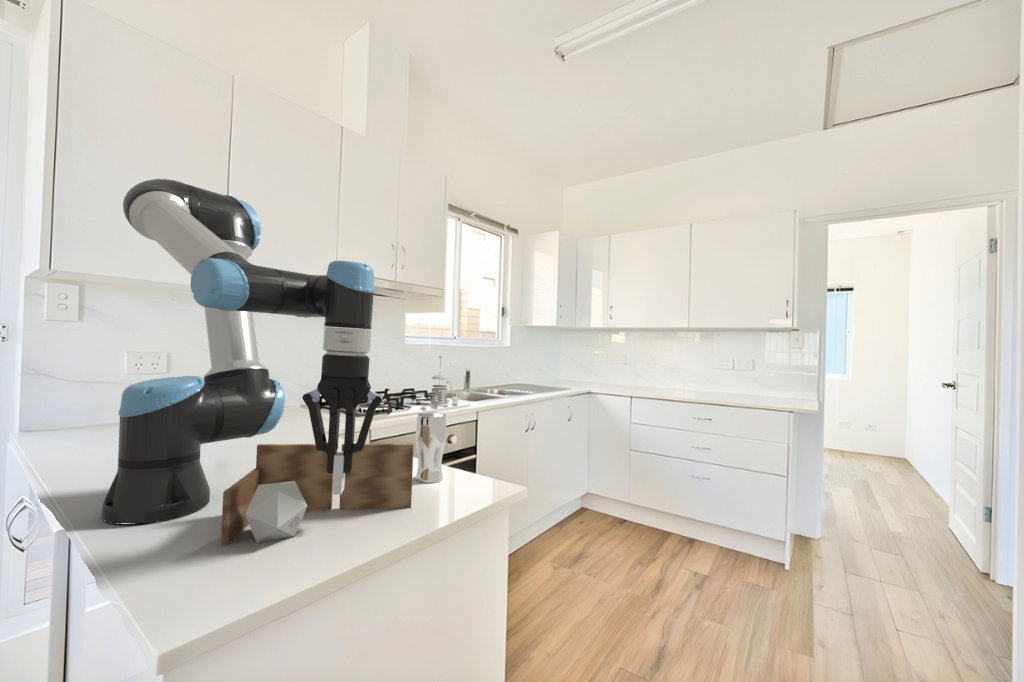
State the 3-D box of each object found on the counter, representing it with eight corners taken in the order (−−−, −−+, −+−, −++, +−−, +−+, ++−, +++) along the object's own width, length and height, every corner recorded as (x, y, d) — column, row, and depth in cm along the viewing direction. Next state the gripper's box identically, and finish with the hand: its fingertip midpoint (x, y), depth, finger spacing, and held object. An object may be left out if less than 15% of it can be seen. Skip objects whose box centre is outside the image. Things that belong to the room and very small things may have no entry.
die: (285, 555, 66) (323, 490, 71) (226, 530, 63) (270, 465, 69) (282, 553, 73) (316, 494, 78) (229, 530, 70) (268, 471, 76)
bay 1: (220, 545, 67) (224, 465, 67) (256, 510, 80) (259, 444, 81) (312, 541, 69) (315, 464, 69) (331, 508, 83) (334, 443, 83)
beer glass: (430, 486, 98) (432, 417, 98) (407, 479, 101) (410, 414, 102) (450, 478, 104) (453, 414, 104) (428, 473, 107) (430, 411, 107)
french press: (434, 403, 231) (436, 355, 231) (454, 404, 228) (456, 356, 228) (425, 405, 221) (427, 355, 221) (447, 407, 218) (449, 356, 218)
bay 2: (339, 509, 82) (341, 445, 82) (340, 507, 83) (342, 443, 83) (411, 507, 85) (413, 444, 85) (411, 505, 86) (413, 443, 86)
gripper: (299, 352, 70) (290, 499, 71) (384, 356, 73) (375, 499, 73) (311, 350, 78) (303, 484, 78) (388, 354, 80) (380, 484, 80)
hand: (338, 491), depth 76 cm, fingers closed
